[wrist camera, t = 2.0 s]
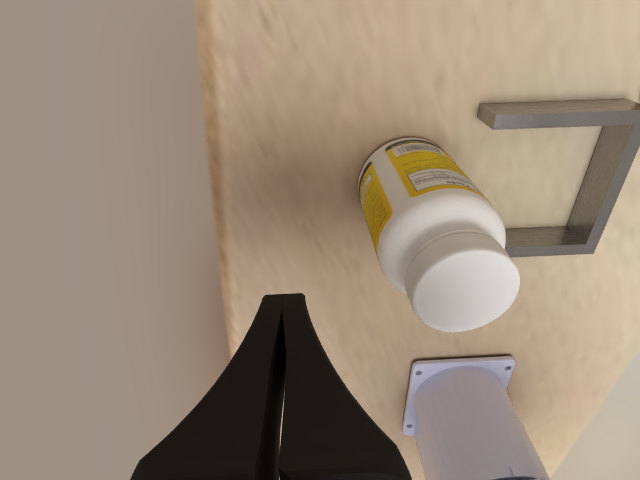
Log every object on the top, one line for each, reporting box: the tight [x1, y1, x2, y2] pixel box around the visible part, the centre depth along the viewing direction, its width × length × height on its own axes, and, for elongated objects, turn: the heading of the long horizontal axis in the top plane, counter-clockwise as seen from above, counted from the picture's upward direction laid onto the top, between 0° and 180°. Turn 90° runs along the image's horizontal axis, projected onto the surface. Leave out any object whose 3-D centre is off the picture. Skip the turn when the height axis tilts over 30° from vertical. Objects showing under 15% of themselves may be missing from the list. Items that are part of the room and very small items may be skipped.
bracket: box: [477, 99, 640, 257], centre depth 22 cm, size 8×8×2 cm
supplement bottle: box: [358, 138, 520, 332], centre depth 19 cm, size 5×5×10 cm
